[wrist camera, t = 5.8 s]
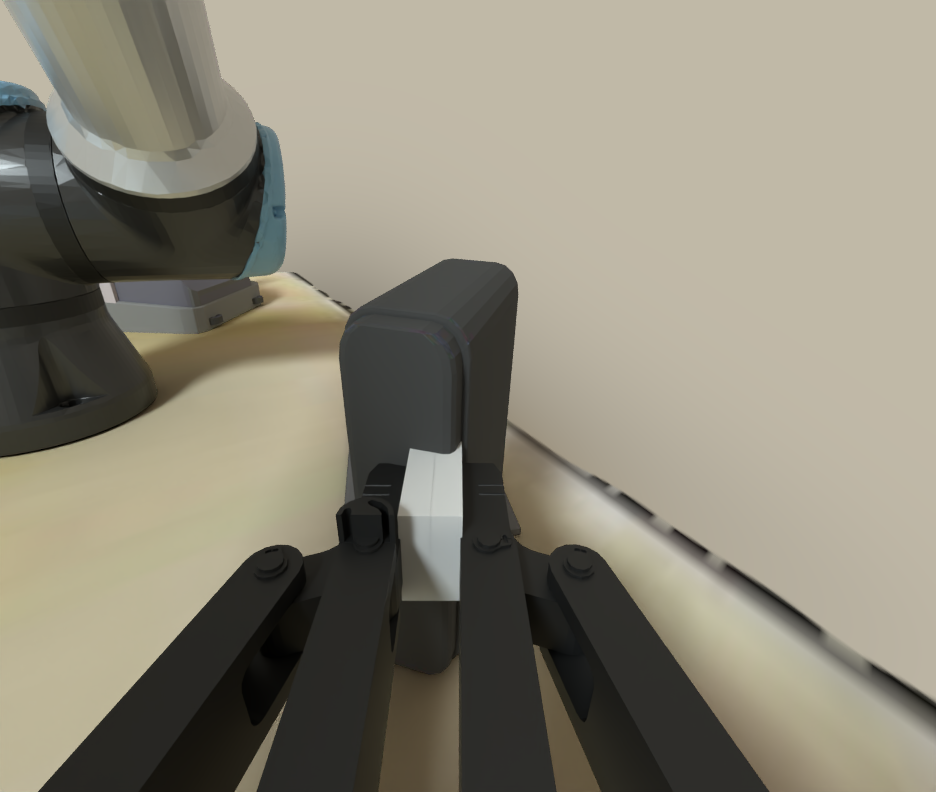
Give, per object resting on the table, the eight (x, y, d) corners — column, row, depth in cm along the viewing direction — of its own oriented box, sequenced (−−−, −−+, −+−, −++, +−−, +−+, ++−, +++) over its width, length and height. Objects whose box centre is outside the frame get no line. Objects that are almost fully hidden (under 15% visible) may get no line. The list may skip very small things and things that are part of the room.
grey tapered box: (176, 296, 78) (153, 203, 72) (283, 304, 75) (268, 208, 69) (52, 329, 59) (6, 207, 53) (188, 342, 56) (155, 213, 50)
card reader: (434, 513, 26) (433, 251, 19) (500, 528, 25) (525, 259, 18) (360, 660, 18) (314, 309, 11) (452, 689, 18) (463, 327, 11)
